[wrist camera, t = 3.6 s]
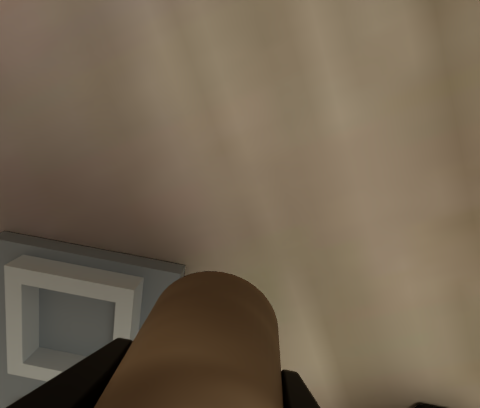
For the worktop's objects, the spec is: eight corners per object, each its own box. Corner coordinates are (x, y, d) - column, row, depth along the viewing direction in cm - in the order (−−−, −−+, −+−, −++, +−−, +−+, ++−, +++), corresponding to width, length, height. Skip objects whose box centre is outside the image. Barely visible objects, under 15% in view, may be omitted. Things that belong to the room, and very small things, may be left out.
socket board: (185, 265, 20) (173, 286, 18) (155, 489, 25) (142, 531, 23) (3, 230, 20) (-34, 246, 18) (11, 459, 26) (-18, 497, 23)
